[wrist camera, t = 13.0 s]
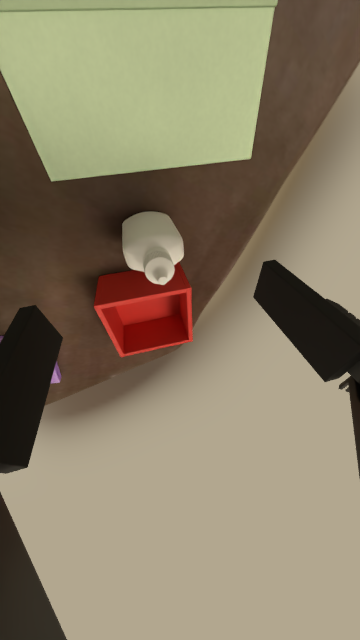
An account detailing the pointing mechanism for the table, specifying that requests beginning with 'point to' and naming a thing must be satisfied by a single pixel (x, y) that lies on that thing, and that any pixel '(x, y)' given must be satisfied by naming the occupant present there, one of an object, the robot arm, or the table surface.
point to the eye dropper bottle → (152, 245)
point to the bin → (144, 310)
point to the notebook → (135, 80)
